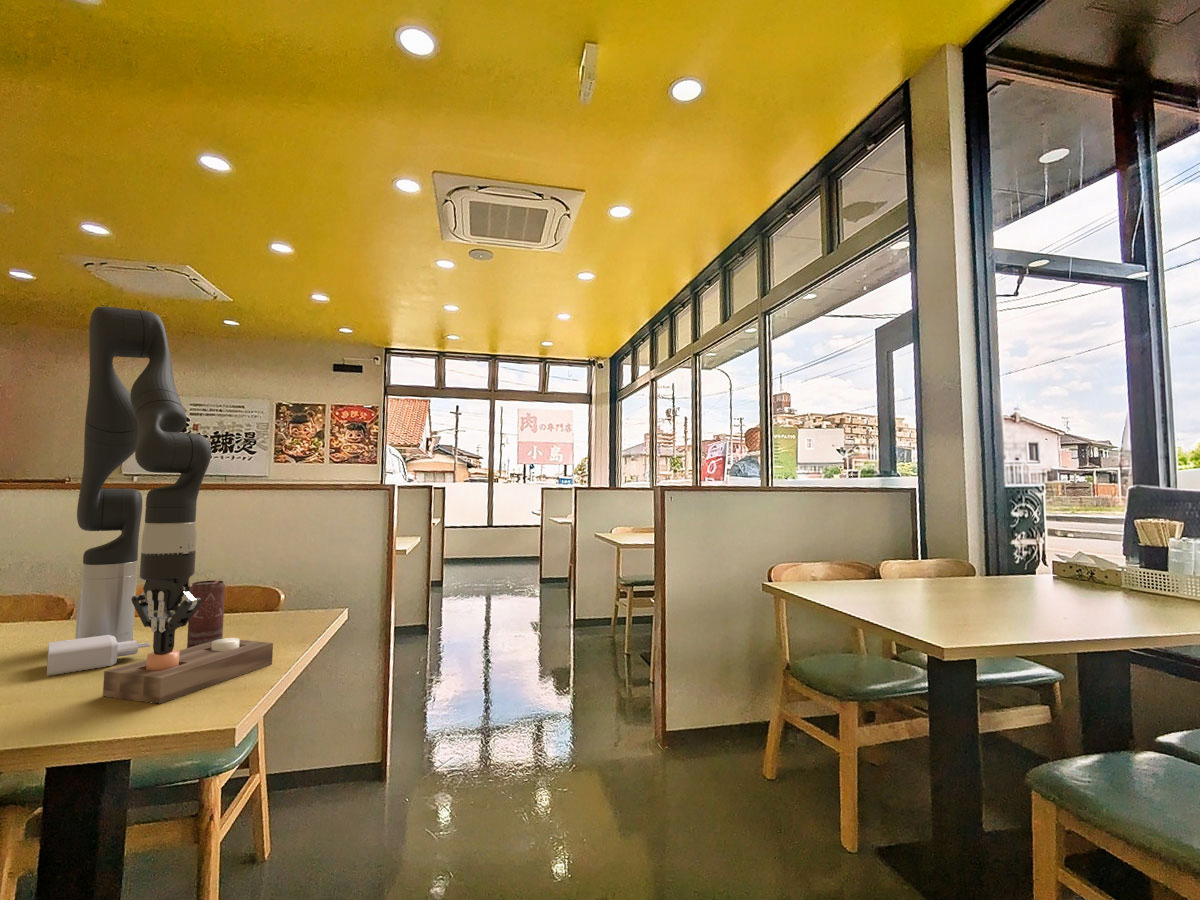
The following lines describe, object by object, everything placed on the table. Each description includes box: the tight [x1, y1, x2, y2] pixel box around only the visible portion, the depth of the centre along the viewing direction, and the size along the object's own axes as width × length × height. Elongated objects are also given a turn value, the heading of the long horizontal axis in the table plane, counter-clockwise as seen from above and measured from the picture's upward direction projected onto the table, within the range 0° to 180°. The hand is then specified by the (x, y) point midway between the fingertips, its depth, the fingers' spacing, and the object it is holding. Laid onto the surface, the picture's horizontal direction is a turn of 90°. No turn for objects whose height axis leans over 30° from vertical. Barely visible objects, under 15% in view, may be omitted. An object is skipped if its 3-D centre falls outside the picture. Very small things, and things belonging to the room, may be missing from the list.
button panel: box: [102, 637, 274, 705], centre depth 105 cm, size 12×22×4 cm, turn 165°
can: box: [186, 579, 226, 648], centre depth 123 cm, size 6×6×14 cm
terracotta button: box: [146, 649, 180, 671], centre depth 99 cm, size 4×4×4 cm
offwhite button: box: [211, 637, 241, 652], centre depth 110 cm, size 4×4×4 cm
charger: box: [46, 635, 151, 677], centre depth 113 cm, size 5×9×15 cm
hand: (163, 653), depth 99 cm, fingers closed
